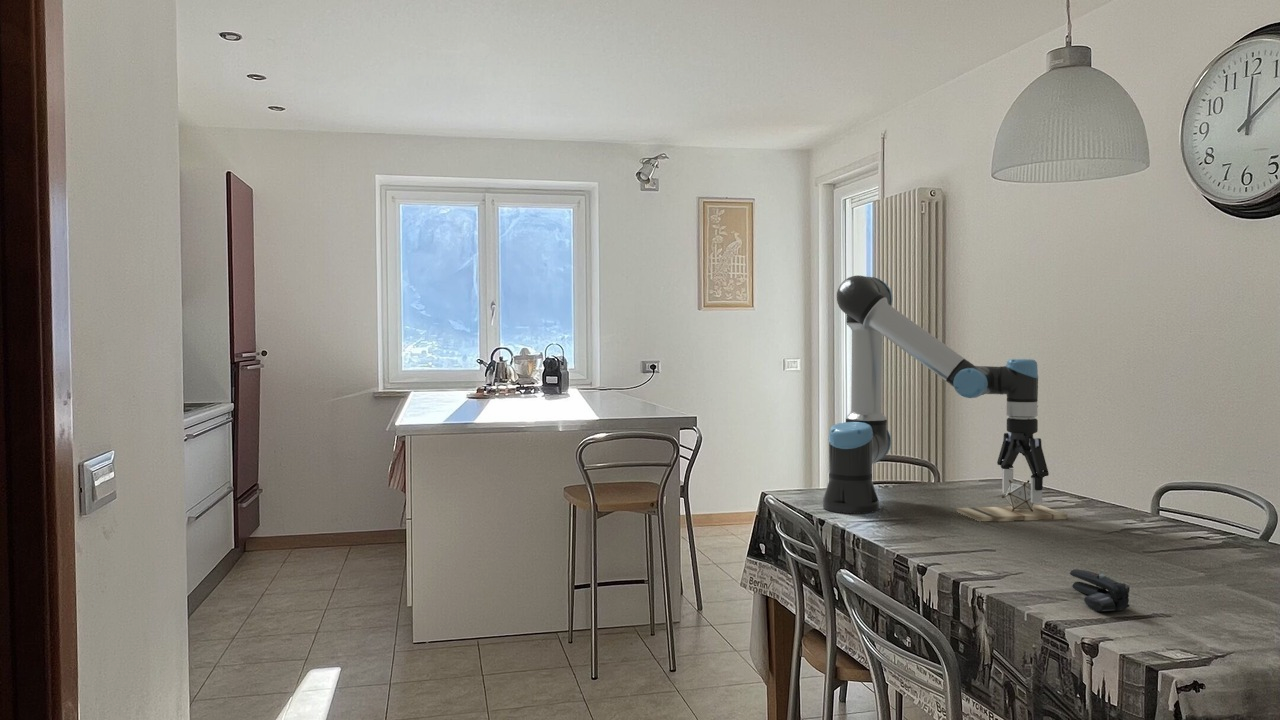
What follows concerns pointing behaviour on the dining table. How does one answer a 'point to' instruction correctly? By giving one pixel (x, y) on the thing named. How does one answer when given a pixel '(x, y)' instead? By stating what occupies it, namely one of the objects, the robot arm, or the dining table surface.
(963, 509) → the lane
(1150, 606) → the dining table surface
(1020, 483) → the game die
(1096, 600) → the can opener
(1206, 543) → the dining table surface
